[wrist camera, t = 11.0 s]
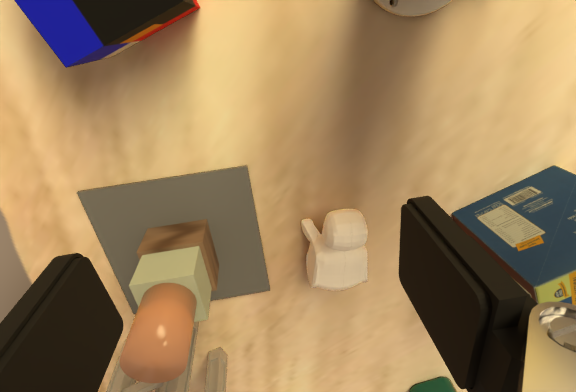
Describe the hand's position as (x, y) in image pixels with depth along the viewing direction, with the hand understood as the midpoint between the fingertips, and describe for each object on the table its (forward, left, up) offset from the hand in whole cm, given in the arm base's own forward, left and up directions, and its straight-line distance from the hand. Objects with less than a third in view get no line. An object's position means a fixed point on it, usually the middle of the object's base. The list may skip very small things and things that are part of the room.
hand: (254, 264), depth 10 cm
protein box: (-35, +23, -30) cm, 51 cm away
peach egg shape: (+11, +18, -19) cm, 29 cm away
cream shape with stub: (-8, +21, -30) cm, 37 cm away
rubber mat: (+11, +19, -30) cm, 37 cm away
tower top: (+11, +19, -24) cm, 32 cm away
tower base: (+11, +19, -29) cm, 36 cm away
